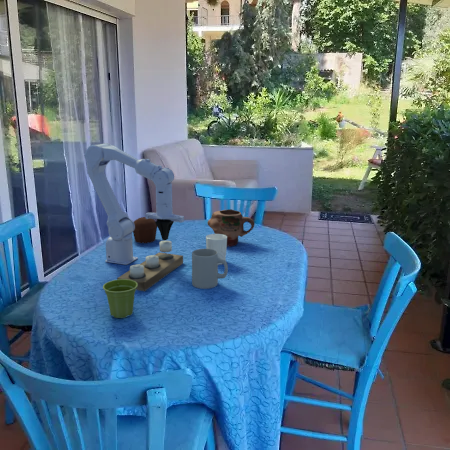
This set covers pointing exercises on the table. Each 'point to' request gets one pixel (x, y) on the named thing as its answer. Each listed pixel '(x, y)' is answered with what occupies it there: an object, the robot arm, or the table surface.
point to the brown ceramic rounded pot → (230, 225)
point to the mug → (206, 268)
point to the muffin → (144, 230)
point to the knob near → (137, 271)
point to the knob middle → (152, 261)
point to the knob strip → (155, 271)
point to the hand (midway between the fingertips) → (165, 239)
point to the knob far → (165, 246)
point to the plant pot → (120, 297)
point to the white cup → (217, 244)
